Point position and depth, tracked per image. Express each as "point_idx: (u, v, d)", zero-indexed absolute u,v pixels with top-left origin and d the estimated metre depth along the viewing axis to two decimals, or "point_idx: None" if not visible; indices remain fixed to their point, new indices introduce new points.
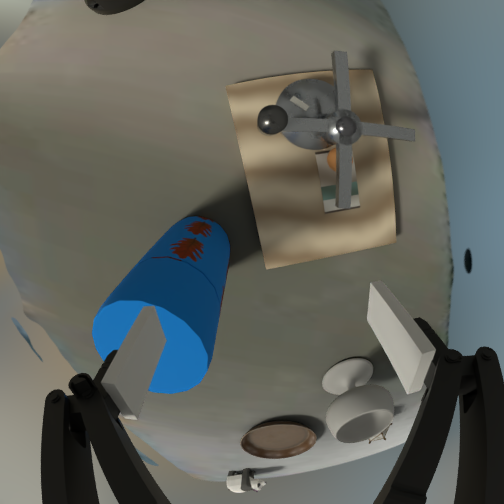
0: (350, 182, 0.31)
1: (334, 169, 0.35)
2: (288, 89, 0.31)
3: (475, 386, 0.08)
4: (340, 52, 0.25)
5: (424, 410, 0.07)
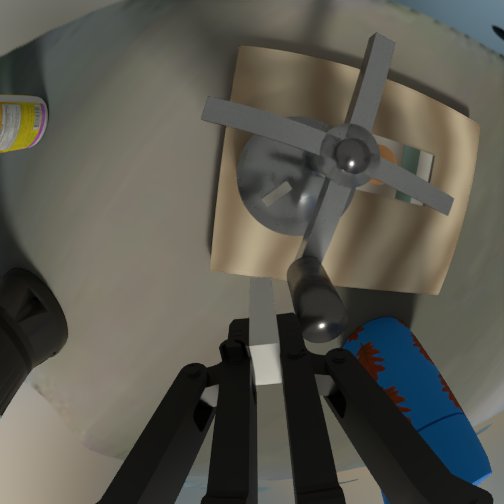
0: (427, 184, 0.17)
1: None
2: (248, 201, 0.22)
3: None
4: (206, 108, 0.16)
5: (287, 412, 0.08)
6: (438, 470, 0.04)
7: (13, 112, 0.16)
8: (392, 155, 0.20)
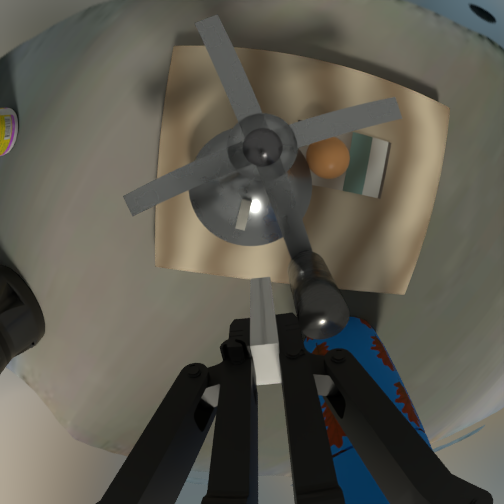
0: (356, 107, 0.15)
1: (340, 175, 0.21)
2: (227, 237, 0.23)
3: None
4: (129, 205, 0.18)
5: (287, 412, 0.08)
6: (438, 470, 0.04)
7: None
8: (342, 147, 0.19)
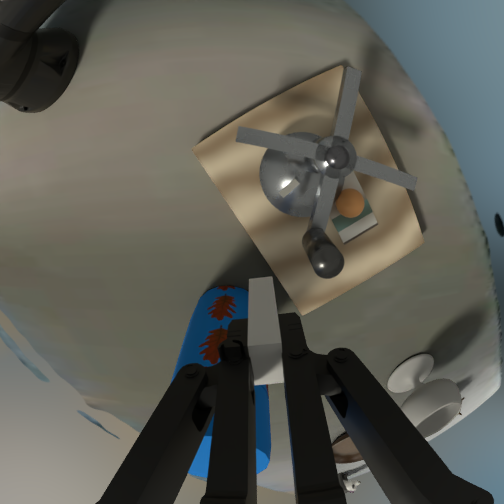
0: (394, 170, 0.26)
1: None
2: (269, 195, 0.31)
3: None
4: (238, 134, 0.25)
5: (289, 412, 0.08)
6: (439, 470, 0.04)
7: None
8: (363, 205, 0.31)
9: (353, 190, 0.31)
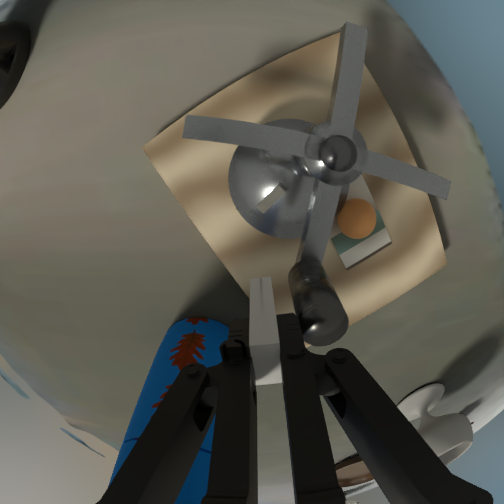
0: (421, 170, 0.17)
1: (353, 238, 0.23)
2: (244, 210, 0.23)
3: None
4: (186, 127, 0.16)
5: (287, 412, 0.08)
6: (438, 470, 0.04)
7: None
8: (374, 222, 0.22)
9: (361, 201, 0.22)
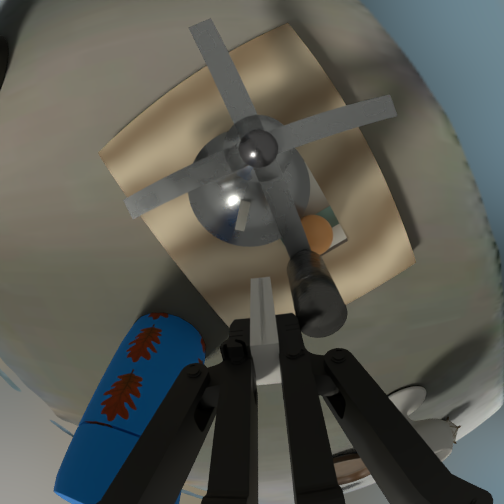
0: (350, 106, 0.15)
1: None
2: (227, 238, 0.24)
3: None
4: (130, 209, 0.18)
5: (287, 412, 0.08)
6: (437, 470, 0.04)
7: None
8: (329, 240, 0.23)
9: (316, 218, 0.23)
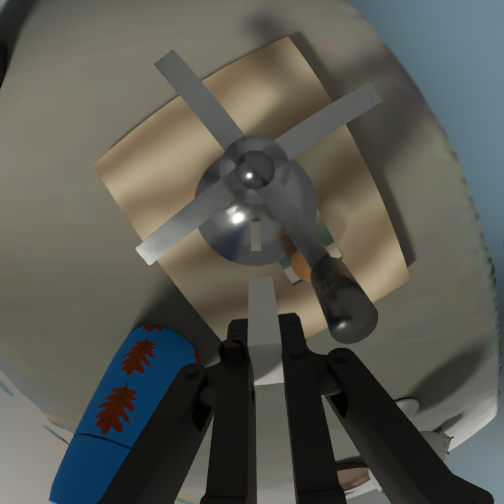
0: (335, 104, 0.15)
1: None
2: (246, 260, 0.24)
3: None
4: (144, 256, 0.19)
5: (289, 412, 0.08)
6: (439, 470, 0.04)
7: None
8: None
9: None
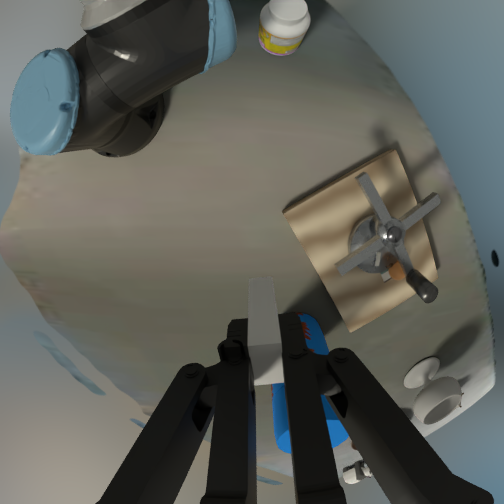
0: (424, 205, 0.35)
1: None
2: (371, 271, 0.44)
3: None
4: (340, 271, 0.39)
5: (289, 412, 0.08)
6: (439, 470, 0.04)
7: (301, 38, 0.29)
8: None
9: None
